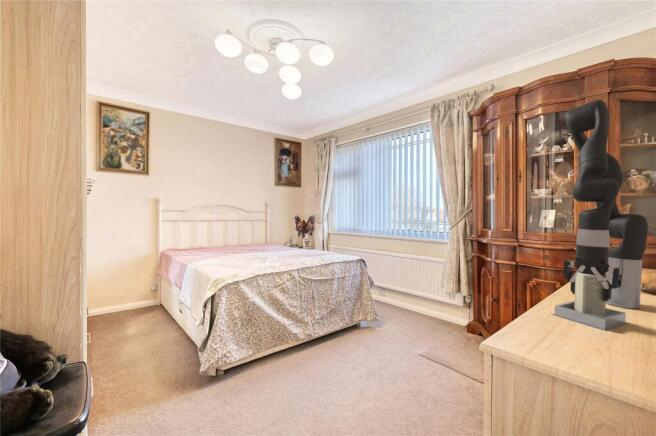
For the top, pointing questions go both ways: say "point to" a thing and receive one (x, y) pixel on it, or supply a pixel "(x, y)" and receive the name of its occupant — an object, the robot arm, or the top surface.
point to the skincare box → (589, 294)
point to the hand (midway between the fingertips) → (589, 297)
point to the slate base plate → (596, 327)
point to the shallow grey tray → (591, 316)
